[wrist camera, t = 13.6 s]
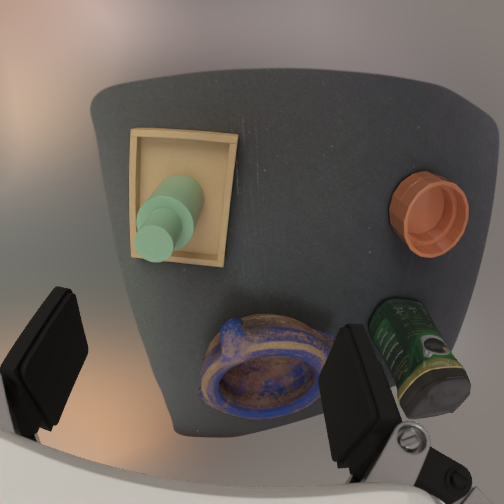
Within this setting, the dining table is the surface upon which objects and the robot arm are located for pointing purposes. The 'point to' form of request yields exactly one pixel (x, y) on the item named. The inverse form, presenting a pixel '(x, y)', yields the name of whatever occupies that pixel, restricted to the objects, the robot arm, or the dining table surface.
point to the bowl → (263, 366)
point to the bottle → (168, 218)
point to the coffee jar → (418, 359)
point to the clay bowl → (428, 213)
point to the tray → (192, 165)
